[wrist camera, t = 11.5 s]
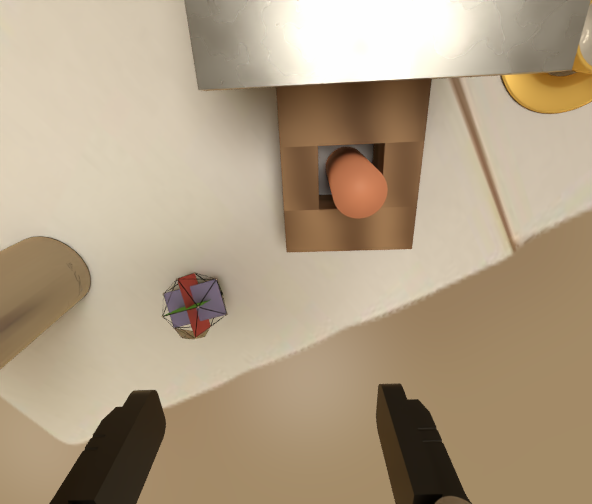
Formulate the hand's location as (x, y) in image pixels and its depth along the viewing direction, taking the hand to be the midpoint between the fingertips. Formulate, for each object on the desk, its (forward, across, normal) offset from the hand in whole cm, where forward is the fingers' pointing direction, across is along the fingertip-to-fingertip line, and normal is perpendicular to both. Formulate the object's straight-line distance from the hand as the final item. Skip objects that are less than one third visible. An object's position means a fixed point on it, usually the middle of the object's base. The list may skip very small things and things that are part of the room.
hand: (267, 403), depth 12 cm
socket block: (+25, -6, -4) cm, 26 cm away
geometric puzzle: (+26, +11, +10) cm, 30 cm away
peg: (+25, -6, -4) cm, 26 cm away
